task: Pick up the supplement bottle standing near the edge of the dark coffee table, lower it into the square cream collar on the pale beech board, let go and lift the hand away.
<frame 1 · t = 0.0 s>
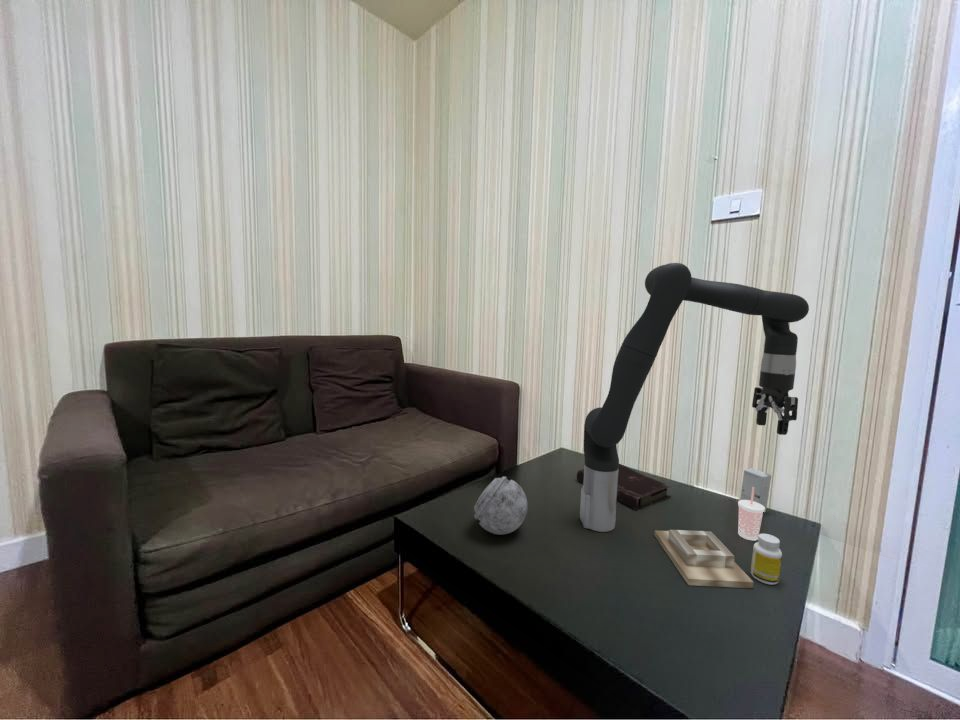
hand: (770, 429, 110), 29 cm above the table, tool pointing down, fingers open, 8 cm apart
decorative orb: (500, 531, 111), on the table
skincare box: (752, 509, 126), on the table
beverage cup: (747, 536, 111), on the table
socket board: (698, 559, 100), on the table
diary: (622, 490, 139), on the table
supplement bottle: (764, 578, 93), on the table
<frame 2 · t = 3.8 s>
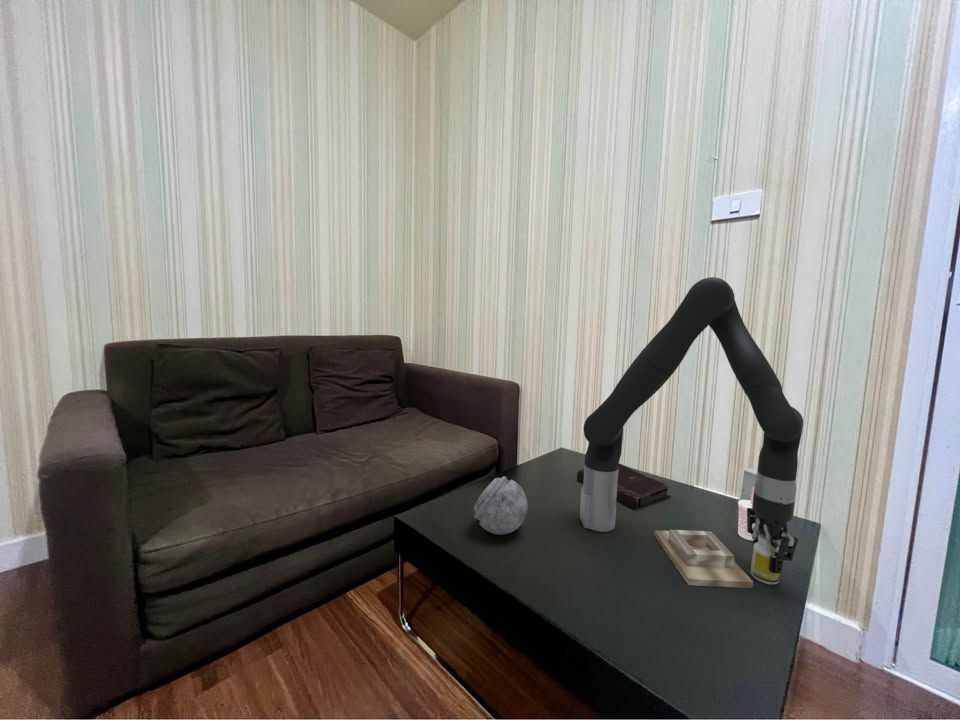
hand: (766, 563, 93), 3 cm above the table, tool pointing down, fingers closed on supplement bottle, 5 cm apart
supplement bottle: (764, 578, 93), on the table, touching gripper
everything else where it was.
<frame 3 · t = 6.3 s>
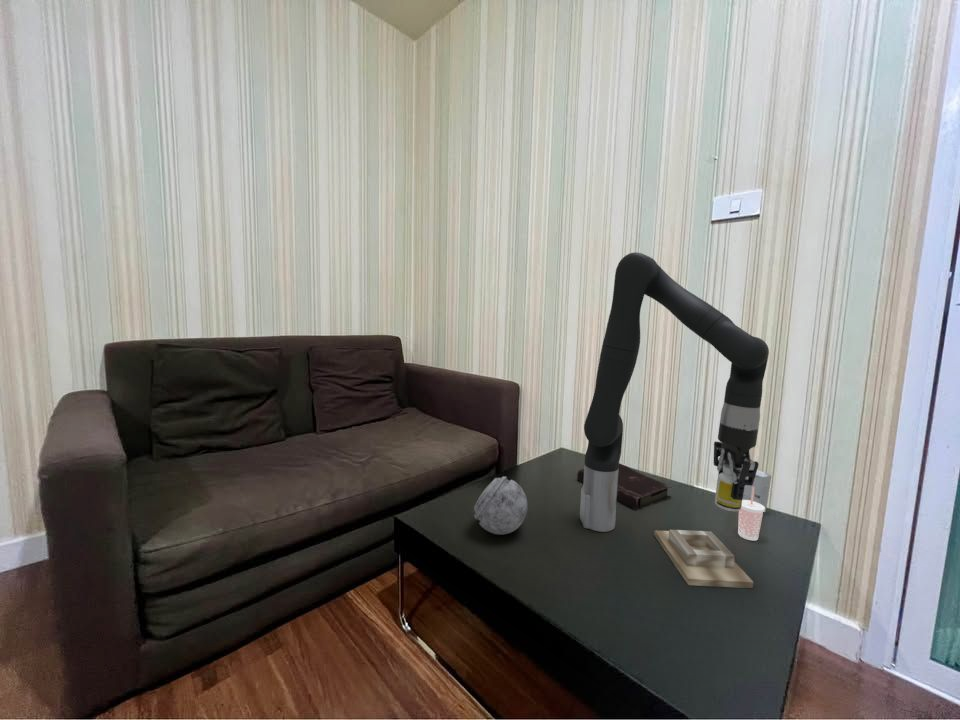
hand: (729, 492, 95), 19 cm above the table, tool pointing down, fingers closed on supplement bottle, 5 cm apart
supplement bottle: (727, 507, 96), point 15 cm above the table, touching gripper
everything else where it was.
when the fingers open (6 cm above the table, at t = 9.1 s): supplement bottle drops 1 cm, resting on socket board.
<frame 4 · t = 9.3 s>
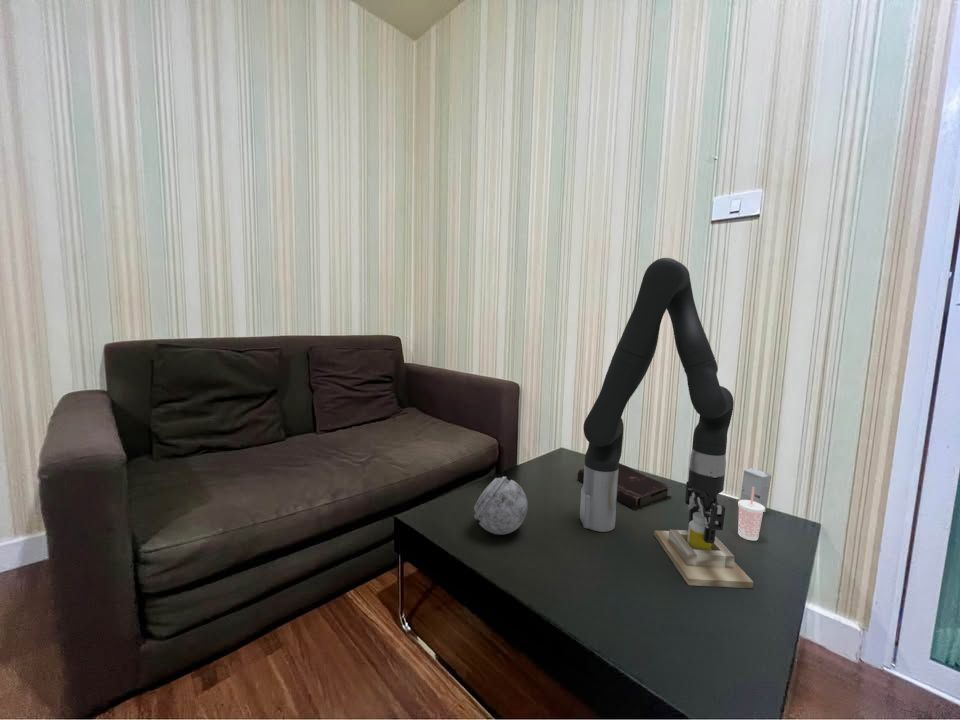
hand: (700, 533, 99), 7 cm above the table, tool pointing down, fingers open, 7 cm apart
supplement bottle: (698, 553, 100), point 1 cm above the table, touching socket board
everything else where it was.
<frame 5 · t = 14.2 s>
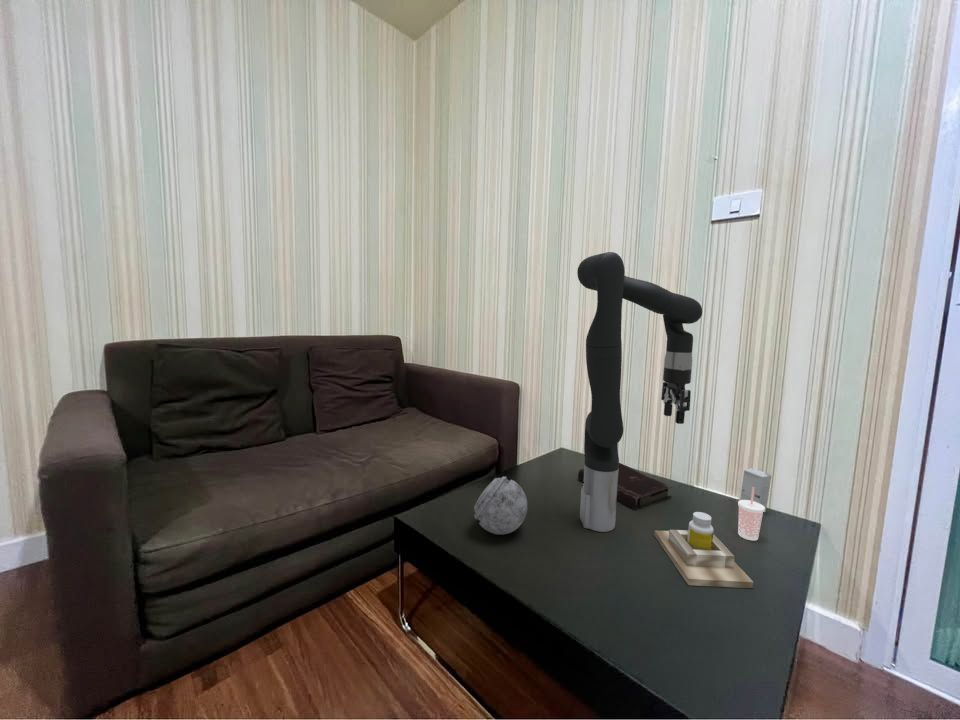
hand: (673, 419, 123), 28 cm above the table, tool pointing down, fingers open, 8 cm apart
nothing on the table moved.
at the end: supplement bottle 0.2 cm off-centre on the socket board, point 1.3 cm above the socket board's base; supplement bottle tilted 0°; the gripper is holding nothing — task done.
